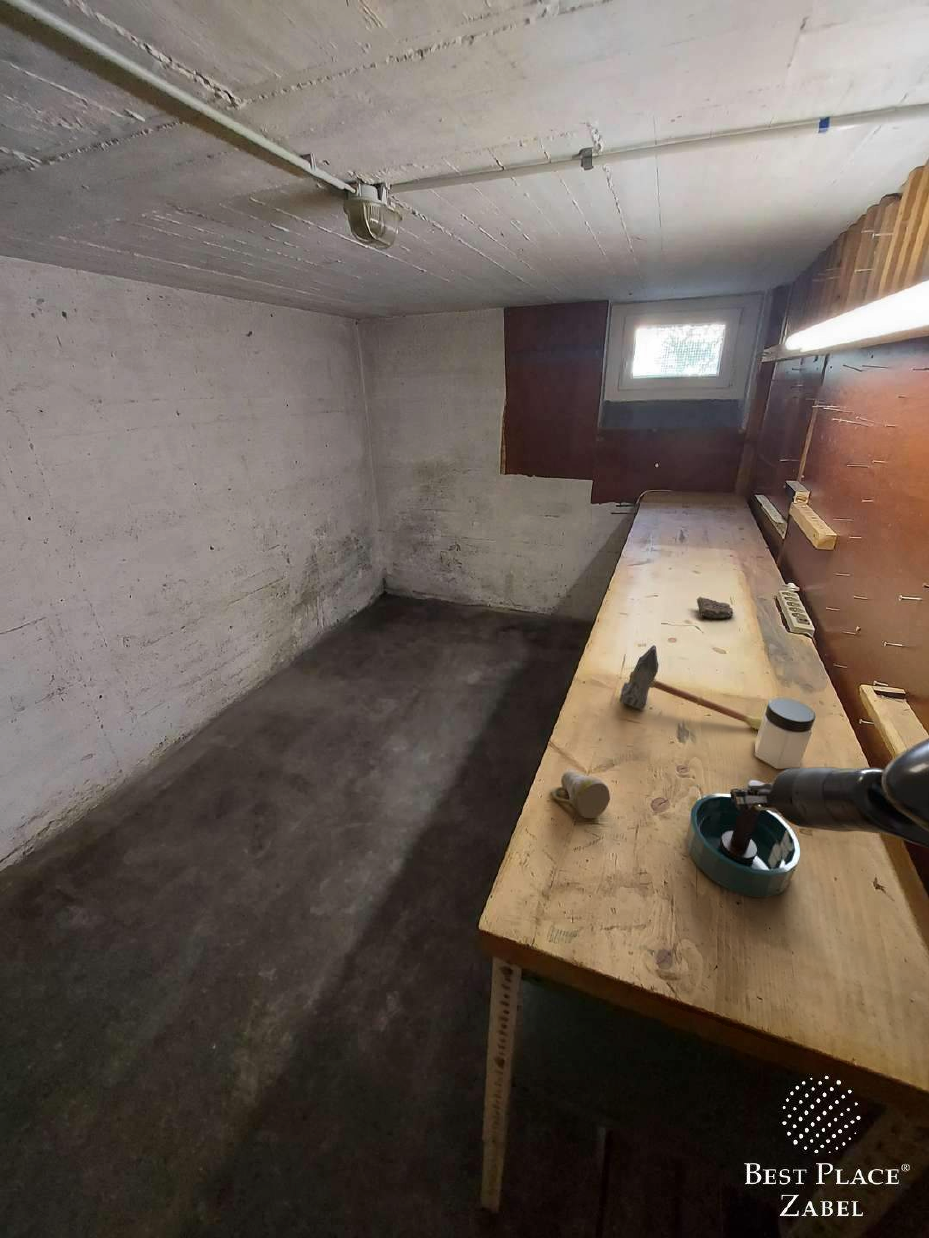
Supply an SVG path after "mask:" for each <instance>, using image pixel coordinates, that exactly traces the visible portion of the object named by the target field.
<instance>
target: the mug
mask: <svg viewBox="0 0 929 1238" xmlns="http://www.w3.org/2000/svg"><path fill="white" fill-rule="evenodd" d="M560 782H561V786H558V787H556V788H554V790H553V791H552V797H553V800H555V801H556V802H559V803H562V804H566V805H567V806H570V807H571V808H573V809H574V810H575V811H576V812H577V813H578V814H579V815H581V816H582V817H583V818H588V819H594V818H598V817H599V816H601V815H602V814H603V813H604V812H605V810H606V809H607V808H608V805H609V804H610V801H611V793H610V790H609V787H608V786H607V785H606V784H605V782H604V781H602V780H601V779H599V778H597V777H595V776H592V775H583V774H580V773H579V772H578V771H577V770H575V769H569V770H566V771H565V772H564V773H563V774H562V776H561V778H560ZM561 791H562V792H567V794H568V797H569V799H566V798H561V797H558V796H557V794H558V793H560V792H561Z"/></svg>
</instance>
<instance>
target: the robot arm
mask: <svg viewBox="0 0 929 1238" xmlns="http://www.w3.org/2000/svg"><path fill="white" fill-rule="evenodd" d="M763 784H764V785H752V786H750V788H748V789H747V787H743V788H731V789H730V791H729V794H730V795H731V799H732V802H734V803H735V805H736V807H737V808H738V809H739V810H743V811H745V810H746V809H750V808H751V806H754V807H755V809H756V810H768V811H771V812H772V813H776V814H780V816H782V817H783V818H784V819H785V820H786V821H788V822H789V823H790V824H792V825H795V826H797V827H800V828H808V829H816V830H824V831H831V832H840V833H841V832H843V833H849V832H850V833H851V832H861V833H871V834H878V835H879V834H880V835H887V836H892V837H895V838H898V839H901V840H903V841H906V842H908V843H911V844H915V845H918V846H922V847H924V848H928V849H929V737H928V738H926V739H924V740H922V741H920V742H918V743H916V744H914V745H912V746H910V747H908V748H906V749H905V750H904V751H901V752H900V753H899V754H897V755H896V756H895V757H893V758H892V759H891V760H890V762H888V764H887V765H886V767H885V768H881V767H872V766H871V767H870V766H869V767H868V766H866V767H836V766H815V767H799V768H786V769H785V770H782V771H781V772H779V774H777V776H776V777H775V779H774V781H773V782H766V783H763ZM751 794H752V795H751Z"/></svg>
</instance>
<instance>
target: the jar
mask: <svg viewBox="0 0 929 1238" xmlns="http://www.w3.org/2000/svg"><path fill="white" fill-rule="evenodd" d="M761 719H762V722H761V725H760V728H759V730H758V732H757V736H756V737H755V742H754V756H755V757H756V758H758V759H759V760H761V761H762V762H764V763H766V764H768V765H770V766H771V767H772V768H775V769H776V770H780V769H781V770H783V769H785V770H786V769H792V768H800V766H801V763H802V760H803V758H804V756H805V753H806V749H807V747H808V744H809V741H810V739H811V736H812V733H813V730H812V728H813V726H814V722H815V720H816V712H815V711H814V710H813V709H812V708H811V707H809V706H808V705H806V704H805V703H803V702H801V701H798V700H795V699H791V698H786V697H775V698H772V699H770V700H769V701H768V703H767V706H766V708H765V709H764V713H763V716H762V718H761Z"/></svg>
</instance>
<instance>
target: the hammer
mask: <svg viewBox="0 0 929 1238" xmlns="http://www.w3.org/2000/svg"><path fill="white" fill-rule="evenodd" d="M658 670H659V662H658V653H657V646H656V645H654V644H653V645H652V646H651V647H650V648H649V649H648V650H647V651H646V652H645V653H644V654H643V655H642V656H639V658H638V660H637V662H636V665H635V667H634V669H633V671H630V673H629V676H628V677H629V679H628V682H625V681H624V683H623V686H622V688H621V692H620V696H619V702H621V703H622V704H626V705H628V706H631V707H632V708H635V709H637V710H641V711H642V710H644V709H645V707H646V705H647V701H648V695H649V690H650V688H651V689H657V690H659V691H661V692H665V693H667V694H670V695H672V696H675V697H677V698H681V699H683V700H686V701H688V702H691V703H694V704H696V705H697V706H701V707H704V708H705V709H706V708H707V709H709V710H711V711H714V712H717V713H719V714H722V715H724V716H727V717H730V718H733V719H735V720H737V721H740V722H743V723H744V724H747V725H748V726H749V727H750V728H753V729H756V730H758V731H759V728H760V725H761V722H762V719H763V718H761V717H758V716H756V715H748V714H744V713H743V712H742V713H741V712H739V711H738V710H737V711H736V710H734V709H731V708H729V707H726V706H723V705H721V704H718V703H716V702H714V701H710V700H708V699H707V698H706V699H705V698H703V697H702V696H698V695H695V694H693V693H690V692H687V691H685V690H682V689H679V688H677V687H674V686H672V685H669V684H666V683H664V682H661V681H659V680H657V679H656V676H657V674H658Z"/></svg>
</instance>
